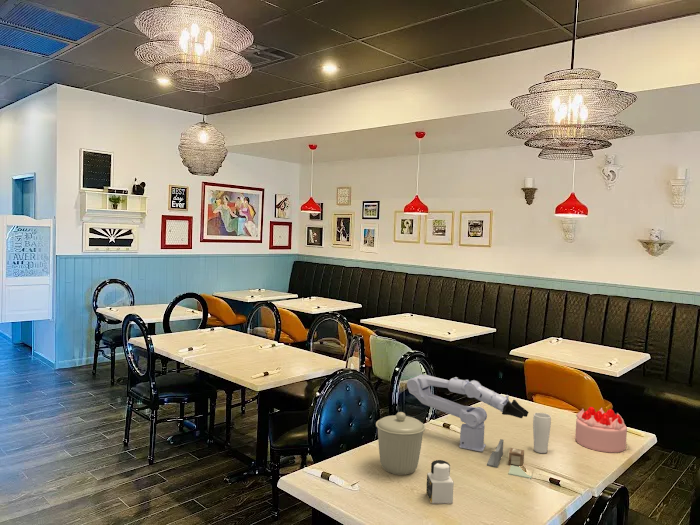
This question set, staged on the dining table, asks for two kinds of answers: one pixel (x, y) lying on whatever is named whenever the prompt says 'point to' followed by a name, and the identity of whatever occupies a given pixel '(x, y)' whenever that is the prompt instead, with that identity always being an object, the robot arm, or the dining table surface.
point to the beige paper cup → (541, 431)
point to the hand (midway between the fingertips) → (525, 415)
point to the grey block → (496, 455)
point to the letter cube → (516, 457)
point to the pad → (518, 472)
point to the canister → (399, 443)
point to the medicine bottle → (440, 483)
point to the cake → (601, 430)
